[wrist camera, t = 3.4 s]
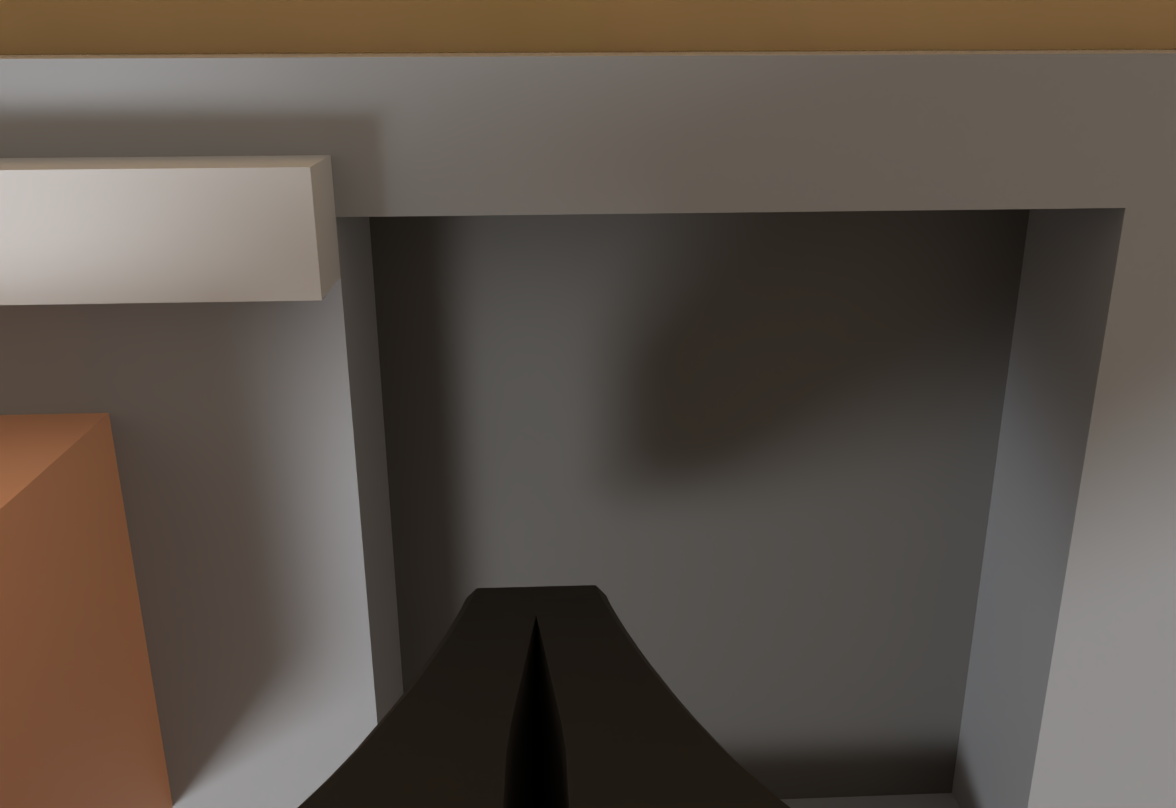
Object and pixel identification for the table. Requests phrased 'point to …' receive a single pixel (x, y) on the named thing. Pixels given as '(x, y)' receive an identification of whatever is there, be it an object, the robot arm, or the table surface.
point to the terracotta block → (71, 625)
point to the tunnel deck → (630, 391)
